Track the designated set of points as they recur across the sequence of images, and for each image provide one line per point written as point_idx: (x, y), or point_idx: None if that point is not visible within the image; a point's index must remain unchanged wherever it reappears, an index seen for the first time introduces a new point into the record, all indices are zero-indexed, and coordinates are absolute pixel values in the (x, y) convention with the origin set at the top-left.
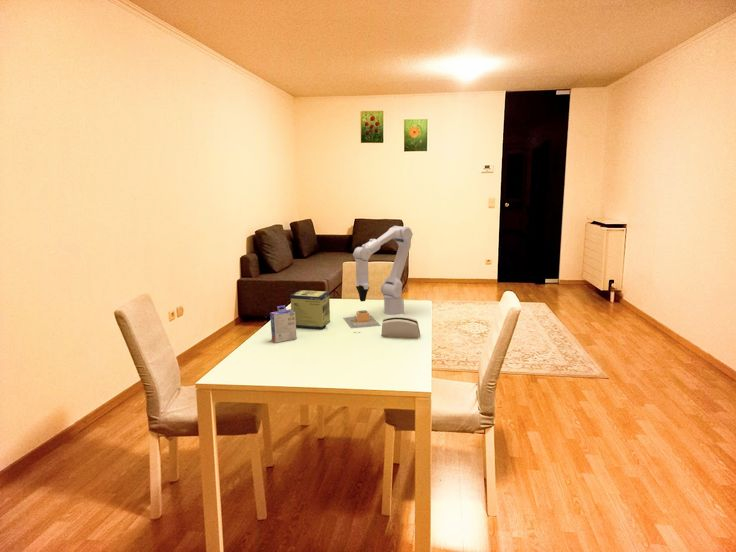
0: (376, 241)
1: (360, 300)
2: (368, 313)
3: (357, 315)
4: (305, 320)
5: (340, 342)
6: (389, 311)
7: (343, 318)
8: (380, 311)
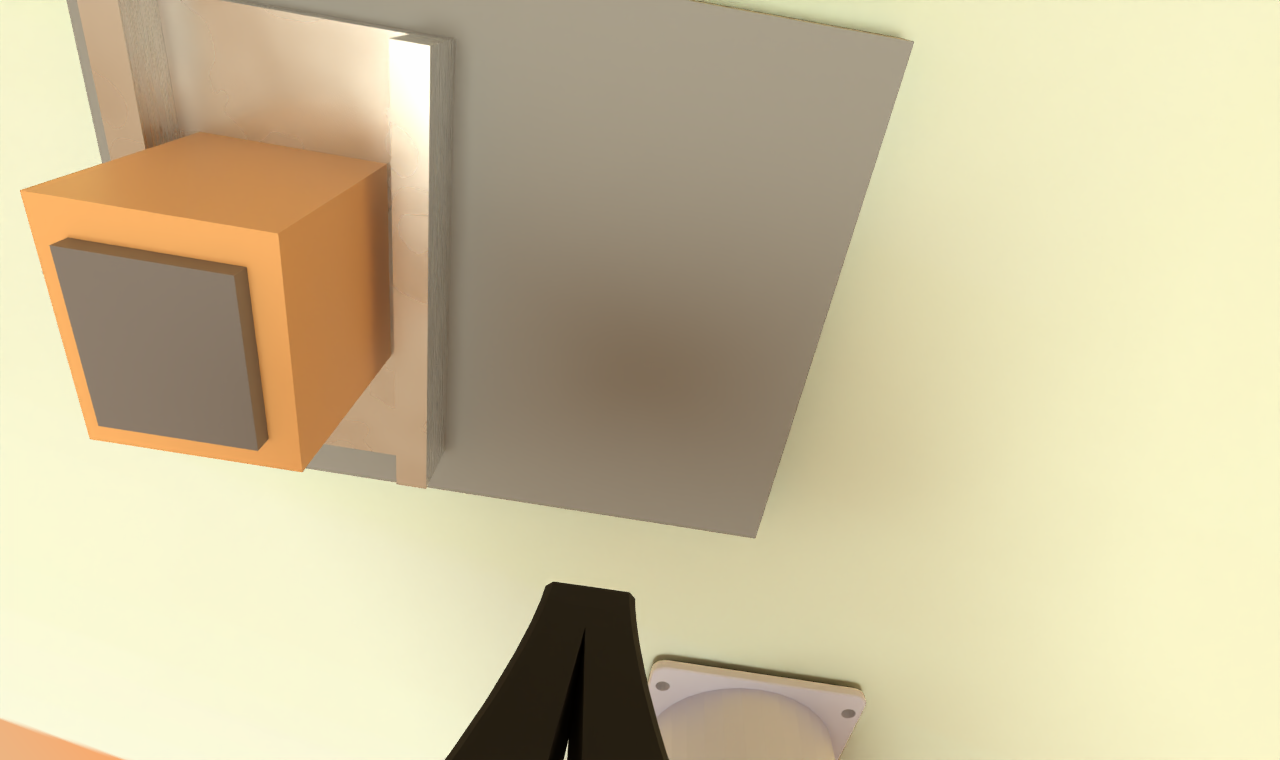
0: None
1: (598, 599)
2: (91, 420)
3: (194, 191)
4: None
5: None
6: (668, 755)
7: (856, 33)
8: (955, 704)
